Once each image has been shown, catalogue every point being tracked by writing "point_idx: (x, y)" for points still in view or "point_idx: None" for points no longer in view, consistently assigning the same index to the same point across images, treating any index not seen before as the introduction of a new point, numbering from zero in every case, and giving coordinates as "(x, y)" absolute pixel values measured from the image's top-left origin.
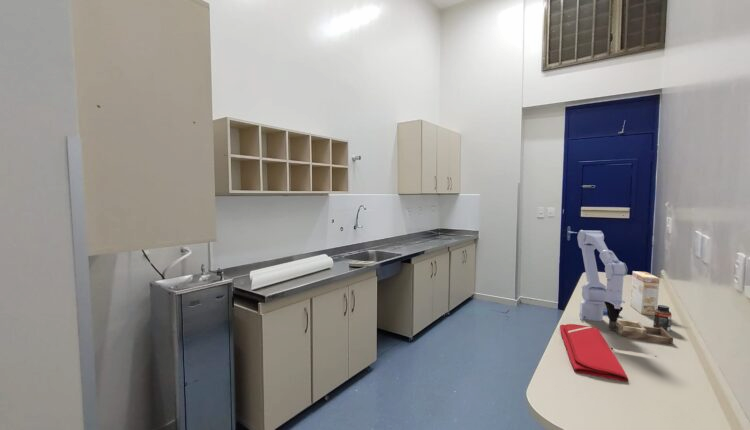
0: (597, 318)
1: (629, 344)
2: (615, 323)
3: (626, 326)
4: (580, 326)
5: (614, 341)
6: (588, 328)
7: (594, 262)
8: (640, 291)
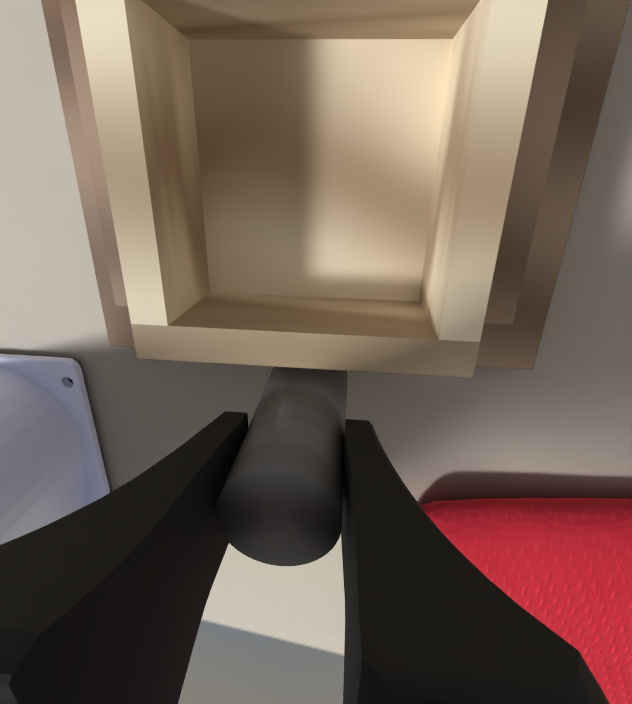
0: (49, 448)
1: (613, 261)
2: (338, 397)
3: (461, 288)
4: None
5: (557, 387)
6: None
7: None
8: None
